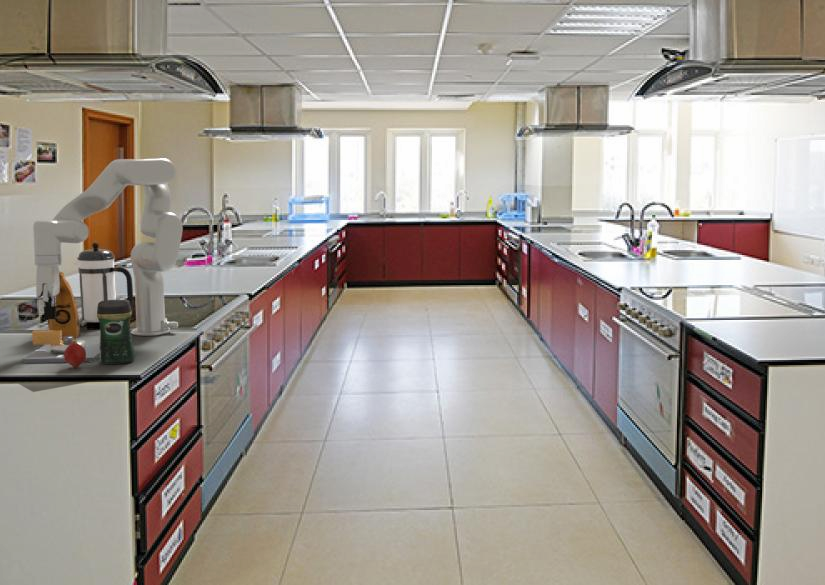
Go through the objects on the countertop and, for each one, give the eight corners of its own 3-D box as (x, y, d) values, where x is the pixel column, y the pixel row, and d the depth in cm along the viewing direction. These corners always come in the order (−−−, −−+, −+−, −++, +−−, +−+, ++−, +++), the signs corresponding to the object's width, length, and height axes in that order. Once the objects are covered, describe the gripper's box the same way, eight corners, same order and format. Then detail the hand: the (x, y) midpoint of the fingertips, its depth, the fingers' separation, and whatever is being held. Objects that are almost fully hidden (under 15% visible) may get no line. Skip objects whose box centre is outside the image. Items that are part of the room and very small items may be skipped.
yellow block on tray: (90, 345, 248) (89, 327, 248) (80, 353, 239) (79, 333, 238) (40, 346, 247) (39, 327, 246) (28, 354, 237) (27, 334, 236)
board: (111, 346, 254) (110, 342, 254) (93, 361, 234) (93, 356, 234) (46, 348, 252) (45, 343, 252) (22, 363, 232) (22, 358, 232)
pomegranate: (61, 367, 227) (59, 340, 226) (81, 364, 231) (80, 337, 230) (69, 371, 223) (67, 343, 222) (90, 367, 227) (88, 340, 226)
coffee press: (87, 329, 281) (82, 245, 277) (72, 323, 293) (67, 242, 289) (135, 323, 293) (131, 242, 288) (118, 317, 304) (114, 239, 300)
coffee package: (47, 341, 262) (42, 275, 259) (48, 334, 273) (44, 270, 270) (79, 339, 266) (76, 274, 262) (80, 332, 277) (76, 269, 274)
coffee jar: (135, 358, 239) (132, 297, 236) (132, 364, 232) (129, 301, 229) (101, 359, 237) (98, 298, 234) (97, 365, 229) (94, 302, 227)
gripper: (41, 258, 251) (43, 315, 254) (28, 262, 237) (31, 323, 239) (66, 258, 253) (68, 314, 255) (55, 262, 238) (57, 322, 241)
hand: (50, 318), depth 247 cm, fingers closed
